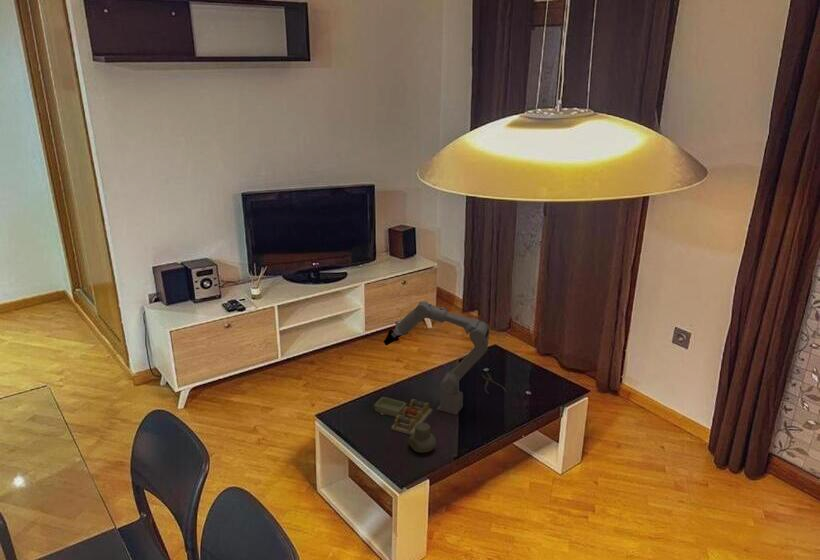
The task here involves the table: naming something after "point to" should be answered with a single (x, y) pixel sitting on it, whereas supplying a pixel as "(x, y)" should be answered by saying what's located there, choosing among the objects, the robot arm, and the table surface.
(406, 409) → the cylinder
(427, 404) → the fuse
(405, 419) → the fuse
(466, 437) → the table surface
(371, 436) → the table surface
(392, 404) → the tray
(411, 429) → the fuse holder
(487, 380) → the pliers
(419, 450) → the air freshener
